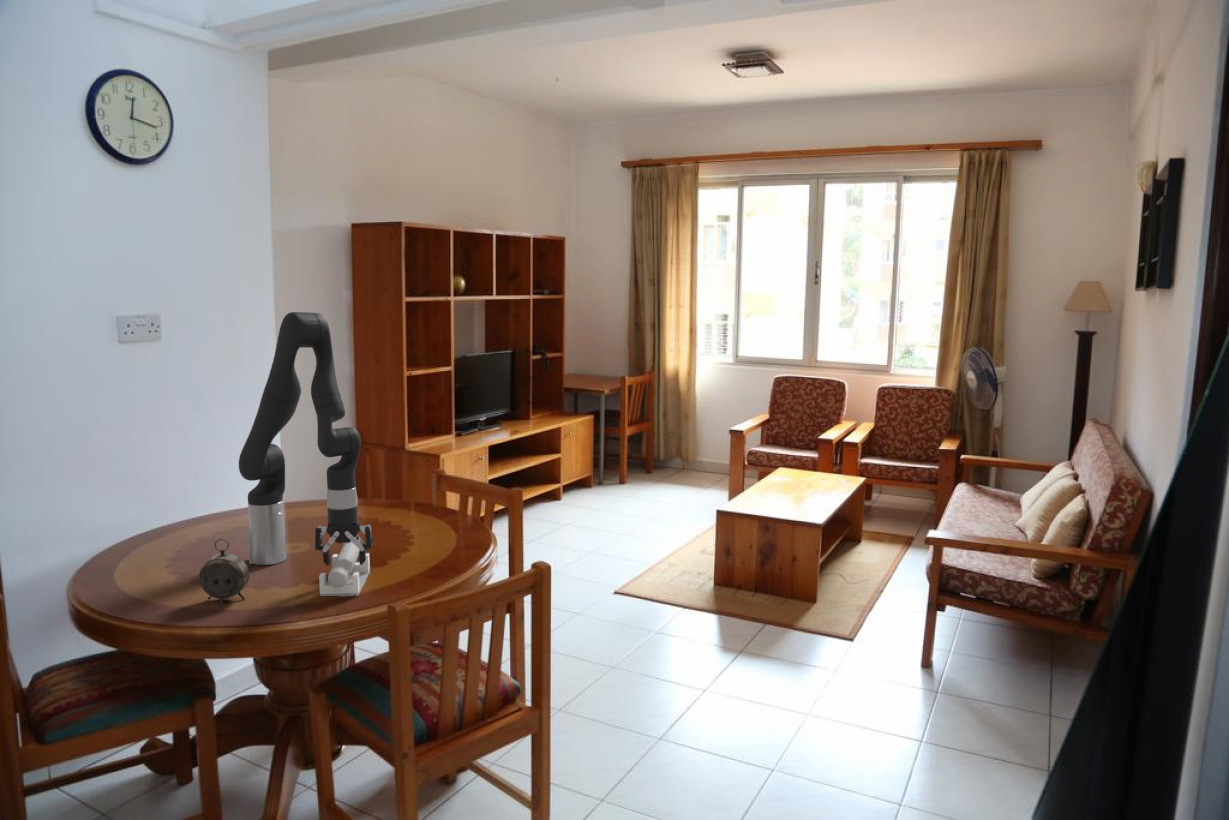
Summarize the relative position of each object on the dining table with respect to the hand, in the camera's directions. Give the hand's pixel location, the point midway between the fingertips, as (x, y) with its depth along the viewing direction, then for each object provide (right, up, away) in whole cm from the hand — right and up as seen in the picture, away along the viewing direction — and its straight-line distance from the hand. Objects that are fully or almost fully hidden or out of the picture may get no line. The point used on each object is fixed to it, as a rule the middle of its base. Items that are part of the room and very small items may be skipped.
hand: (345, 564), depth 228 cm
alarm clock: (-26, -8, -11) cm, 30 cm away
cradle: (0, -5, +1) cm, 5 cm away
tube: (0, -3, +1) cm, 3 cm away
